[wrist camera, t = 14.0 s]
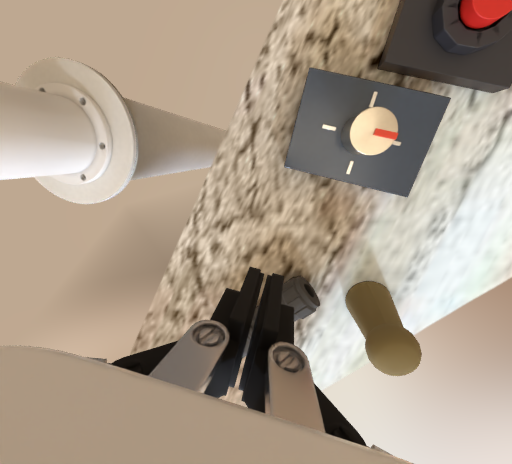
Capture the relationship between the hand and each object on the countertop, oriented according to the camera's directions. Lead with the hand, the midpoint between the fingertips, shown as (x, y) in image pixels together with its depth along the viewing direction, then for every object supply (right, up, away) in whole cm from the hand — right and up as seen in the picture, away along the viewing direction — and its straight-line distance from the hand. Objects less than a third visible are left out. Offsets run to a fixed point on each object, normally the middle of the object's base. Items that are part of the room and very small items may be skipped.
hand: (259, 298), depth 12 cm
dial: (+11, +13, +14) cm, 22 cm away
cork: (+16, -6, +23) cm, 29 cm away
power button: (+19, +23, +9) cm, 31 cm away
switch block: (+20, +24, +13) cm, 33 cm away
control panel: (+11, +14, +17) cm, 25 cm away
